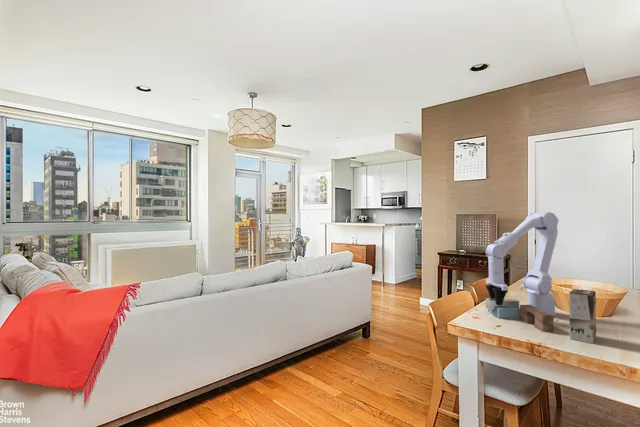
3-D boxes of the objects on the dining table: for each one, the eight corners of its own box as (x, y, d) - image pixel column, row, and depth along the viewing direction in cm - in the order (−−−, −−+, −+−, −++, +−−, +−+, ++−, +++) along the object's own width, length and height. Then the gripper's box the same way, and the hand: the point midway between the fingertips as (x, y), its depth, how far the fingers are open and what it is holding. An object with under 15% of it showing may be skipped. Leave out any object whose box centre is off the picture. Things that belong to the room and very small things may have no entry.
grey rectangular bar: (514, 307, 140) (514, 298, 140) (519, 310, 136) (519, 301, 136) (485, 307, 141) (485, 297, 141) (489, 309, 137) (489, 300, 137)
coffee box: (593, 344, 107) (592, 295, 107) (569, 339, 112) (568, 292, 112) (596, 336, 114) (595, 291, 114) (573, 332, 118) (573, 288, 118)
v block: (510, 311, 144) (510, 302, 144) (523, 318, 134) (523, 308, 134) (487, 311, 144) (487, 302, 144) (499, 318, 134) (499, 308, 134)
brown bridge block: (530, 319, 133) (529, 304, 133) (553, 331, 119) (553, 315, 119) (520, 319, 133) (520, 304, 133) (542, 331, 119) (542, 315, 119)
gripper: (478, 269, 147) (479, 299, 147) (495, 275, 132) (495, 308, 132) (494, 269, 146) (495, 299, 146) (512, 275, 132) (513, 308, 132)
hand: (496, 303), depth 139 cm, fingers closed on grey rectangular bar, 4 cm apart
